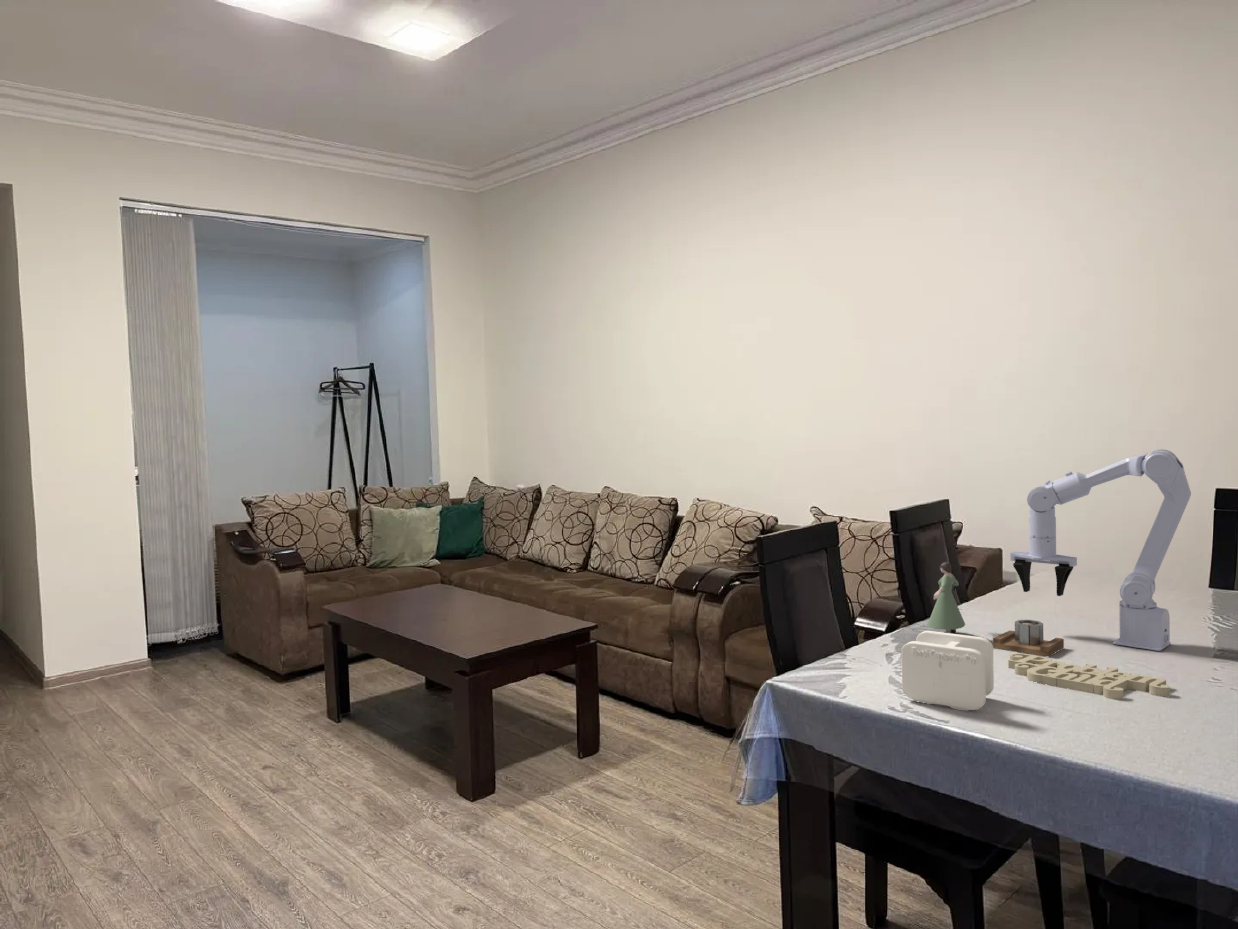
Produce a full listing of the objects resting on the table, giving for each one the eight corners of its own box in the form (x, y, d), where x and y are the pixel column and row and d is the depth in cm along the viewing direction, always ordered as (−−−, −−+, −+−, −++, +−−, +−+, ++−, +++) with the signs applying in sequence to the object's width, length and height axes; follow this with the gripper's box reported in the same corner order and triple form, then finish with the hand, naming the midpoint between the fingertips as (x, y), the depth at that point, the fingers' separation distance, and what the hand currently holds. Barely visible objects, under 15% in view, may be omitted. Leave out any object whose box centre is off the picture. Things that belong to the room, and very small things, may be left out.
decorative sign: (986, 667, 178) (1014, 651, 189) (986, 677, 178) (1014, 661, 189) (1157, 698, 157) (1178, 678, 167) (1157, 709, 157) (1178, 688, 167)
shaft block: (1063, 648, 195) (1063, 624, 195) (1048, 657, 189) (1047, 632, 189) (1009, 639, 204) (1009, 616, 204) (993, 647, 198) (992, 624, 198)
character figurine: (945, 626, 219) (943, 555, 218) (978, 630, 213) (977, 558, 212) (917, 639, 207) (915, 564, 206) (951, 644, 202) (950, 568, 201)
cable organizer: (999, 699, 164) (998, 639, 163) (982, 716, 156) (981, 652, 155) (919, 686, 173) (918, 629, 173) (900, 701, 165) (898, 641, 164)
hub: (1046, 641, 197) (1046, 622, 197) (1036, 647, 193) (1036, 627, 193) (1021, 637, 201) (1021, 618, 201) (1011, 642, 197) (1011, 623, 197)
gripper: (1004, 536, 209) (1005, 592, 210) (1068, 541, 198) (1069, 600, 199) (1016, 532, 214) (1017, 587, 214) (1080, 537, 203) (1080, 594, 204)
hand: (1043, 593), depth 207 cm, fingers open, 7 cm apart
